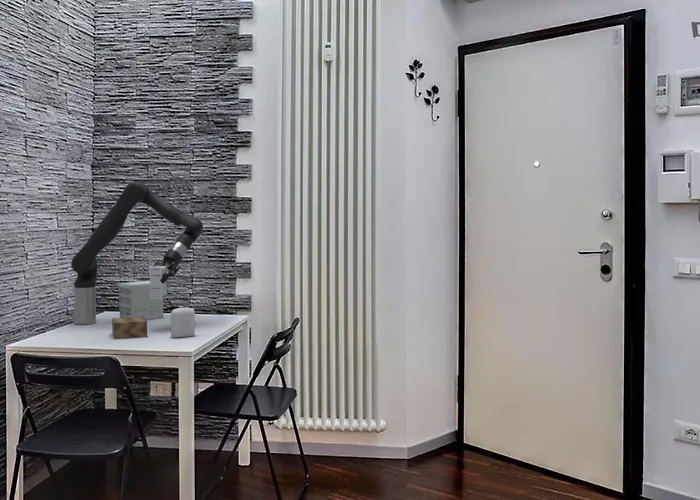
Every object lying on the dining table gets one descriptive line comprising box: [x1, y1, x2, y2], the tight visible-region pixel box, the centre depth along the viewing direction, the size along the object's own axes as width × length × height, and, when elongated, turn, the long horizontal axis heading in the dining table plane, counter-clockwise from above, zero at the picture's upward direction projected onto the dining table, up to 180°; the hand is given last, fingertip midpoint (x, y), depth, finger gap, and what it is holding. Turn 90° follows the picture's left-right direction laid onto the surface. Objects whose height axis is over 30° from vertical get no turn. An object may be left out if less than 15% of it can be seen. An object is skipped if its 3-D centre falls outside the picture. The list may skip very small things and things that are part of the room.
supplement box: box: [118, 280, 164, 321], centre depth 334 cm, size 17×13×18 cm
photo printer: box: [170, 307, 196, 339], centre depth 286 cm, size 10×4×12 cm, turn 126°
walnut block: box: [111, 317, 148, 340], centre depth 288 cm, size 13×13×7 cm
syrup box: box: [149, 266, 168, 300], centre depth 300 cm, size 6×6×14 cm
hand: (155, 281), depth 299 cm, fingers closed on syrup box, 7 cm apart
